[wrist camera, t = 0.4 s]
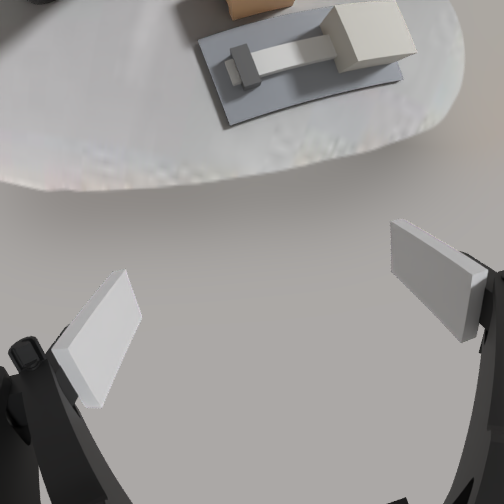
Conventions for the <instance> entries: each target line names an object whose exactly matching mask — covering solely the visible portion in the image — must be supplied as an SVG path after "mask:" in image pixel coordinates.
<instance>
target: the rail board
mask: <svg viewBox="0 0 504 504" xmlns="http://www.w3.org/2000/svg"><path fill="white" fill-rule="evenodd" d="M198 42H199V45H200V48H201V50H202V53H203V55H204V58H205V61H206V63H207V66H208V68H209V71H210V74H211V76H212V79H213V81H214V84H215V87H216V89H217V92H218V95H219V97H220V100H221V103H222V105H223V108H224V111H225V113H226V116H227V119H228V121H229V124H230V126H231V125H234V124H237V123H240V122H243V121H246V120H249V119H252V118H255V117H258V116H261V115H264V114H267V113H270V112H273V111H277V110H280V109H283V108H287V107H290V106H293V105H297V104H300V103H304V102H307V101H311V100H315V99H319V98H322V97H326V96H330V95H334V94H338V93H343V92H347V91H351V90H356V89H360V88H365V87H369V86H374V85H379V84H384V83H389V82H395V81H400V80H404V79H403V76H402V73H401V70H400V67H399V65H398V62H397V61H398V60H401V59H403V58H405V57H408V56H410V55H413V54H415V53H418V52H417V50H416V47H415V45H414V42H413V39H412V37H411V35H410V32H409V30H408V27H407V25H406V23H405V20H404V18H403V16H402V14H401V11H400V9H399V7H398V5H397V3H396V1H395V0H387V1H371V2H360V3H350V4H342V5H334V6H331V7H324V8H318V9H312V10H307V11H301V12H296V13H291V14H287V15H282V16H278V17H273V18H269V19H265V20H261V21H257V22H254V23H250V24H246V25H243V26H239V27H236V28H233V29H229V30H226V31H223V32H220V33H217V34H214V35H211V36H208V37H205V38H202V39H199V40H198Z"/></svg>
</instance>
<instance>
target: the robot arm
mask: <svg viewBox="0 0 504 504" xmlns="http://www.w3.org/2000/svg"><path fill="white" fill-rule="evenodd" d="M27 1H29V2H31V3H34V4H44V3H49V2H52V1H54V0H27ZM390 227H391V272H392V273H393V274H394V275H395V276H396V277H397V278H398V279H399V280H400V281H401V282H403V284H404V285H405V286H406V287H407V288H409V289H410V291H411V292H412V293H413V294H414V295H416V297H418V299H419V300H421V302H423V304H424V305H425V306H426V307H427V308H428V309H429V310H430V311H431V312H432V313H433V314H434V315H435V316H436V317H437V318H438V319H439V320H440V321H441V322H442V323H443V324H444V325H445V327H446V328H447V329H448V330H449V331H450V332H451V333H452V334H453V335H454V336H455V337H456V338H457V339H458V341H460V343H463V342H465V341H468V340H470V339H473V338H475V337H476V335H477V331H478V326H479V323H480V324H481V325H482V326H483V327H484V328H485V330H484V334H483V339H482V342H481V346H480V350H479V353H481V362H480V369H479V376H478V384H477V390H476V395H475V401H474V406H473V412H472V416H471V421H470V425H469V429H468V434H467V437H466V441H465V445H464V449H463V453H462V456H461V460H460V463H459V466H458V469H457V473H456V476H455V479H454V482H453V484H452V487H451V490H450V492H449V494H448V496H447V498H446V500H445V502H444V503H443V504H504V270H503V271H499V272H498V273H497V272H495V271H494V270H492V269H491V268H489V267H488V266H486V265H484V264H483V263H481V262H480V261H478V260H477V259H475V258H474V257H472V256H470V255H469V254H467V253H464V252H461V251H458V250H456V249H455V248H453V247H451V246H450V245H448V244H446V243H445V242H443V241H442V240H440V239H438V238H436V237H435V236H433V235H431V234H430V233H428V232H426V231H424V230H423V229H421V228H419V227H418V226H416V225H414V224H412V223H410V222H409V221H407V220H405V219H398V220H392V221H390ZM141 319H142V314H141V311H140V309H139V306H138V303H137V300H136V297H135V295H134V292H133V289H132V286H131V283H130V280H129V277H128V274H127V271H126V269H123V270H118V271H113V272H112V273H111V274H110V275H109V276H108V278H107V279H106V280H105V281H104V282H103V284H102V285H101V286H100V287H99V288H98V290H97V291H96V292H95V293H94V295H93V296H92V297H91V298H90V299H89V301H88V302H87V303H86V304H85V306H84V307H83V308H82V309H81V311H80V312H79V313H78V314H77V316H76V317H75V318H74V320H73V321H72V322H71V323H70V324H69V325H68V326H67V327H65V328H64V330H63V331H62V332H61V334H60V336H58V338H57V339H56V341H55V342H54V343H53V344H52V345H51V347H50V348H49V350H48V351H47V352H46V354H45V353H44V351H43V349H42V348H41V346H40V344H39V342H38V340H37V339H36V337H33V336H30V337H26V338H23V339H21V340H19V341H18V342H16V343H15V344H14V345H12V346H11V348H10V349H9V351H8V354H9V356H10V358H11V360H12V362H13V363H14V365H15V367H16V368H17V370H18V372H19V374H16V375H12V376H9V375H8V373H7V371H6V370H5V368H4V367H2V366H0V504H41V502H40V490H39V468H40V471H41V474H42V477H43V480H44V483H45V486H46V489H47V492H48V494H49V497H50V500H51V503H52V504H132V502H131V501H130V499H129V498H128V496H127V495H126V493H125V492H124V490H123V489H122V487H121V485H120V484H119V482H118V481H117V479H116V478H115V476H114V474H113V473H112V471H111V469H110V468H109V466H108V464H107V463H106V461H105V459H104V457H103V456H102V454H101V452H100V450H99V448H98V447H97V445H96V443H95V441H94V439H93V438H92V435H91V434H90V431H89V430H88V428H87V426H86V424H85V422H84V419H83V417H82V415H81V413H80V411H79V409H78V408H77V406H76V405H75V401H76V399H77V398H78V397H79V399H80V400H81V401H82V403H83V405H84V406H85V407H86V408H102V407H103V404H104V402H105V400H106V397H107V395H108V392H109V390H110V387H111V385H112V383H113V381H114V378H115V376H116V374H117V372H118V369H119V367H120V364H121V362H122V360H123V358H124V356H125V354H126V351H127V349H128V347H129V345H130V343H131V341H132V338H133V336H134V334H135V332H136V330H137V328H138V326H139V323H140V321H141ZM38 465H39V468H38ZM388 504H408V501H407V499H406V497H405V498H402V499H400V500H397V501H394V502H391V503H388Z"/></svg>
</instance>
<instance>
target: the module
mask: <svg viewBox="0 0 504 504" xmlns="http://www.w3.org/2000/svg"><path fill="white" fill-rule="evenodd" d="M226 1H227V4H228V6H229V13H230V15H231V18H232V20H233V21H234V20H237V19H241V18H244V17H248V16H251V15H255V14H259V13H263V12H267V11H271V10H276V9H280V8H285V7H290V6H292V5H293V3H294V1H295V0H226Z"/></svg>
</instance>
